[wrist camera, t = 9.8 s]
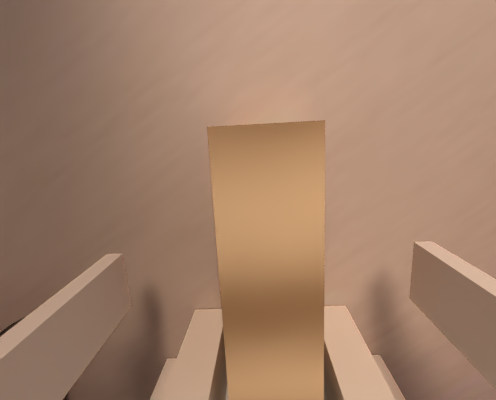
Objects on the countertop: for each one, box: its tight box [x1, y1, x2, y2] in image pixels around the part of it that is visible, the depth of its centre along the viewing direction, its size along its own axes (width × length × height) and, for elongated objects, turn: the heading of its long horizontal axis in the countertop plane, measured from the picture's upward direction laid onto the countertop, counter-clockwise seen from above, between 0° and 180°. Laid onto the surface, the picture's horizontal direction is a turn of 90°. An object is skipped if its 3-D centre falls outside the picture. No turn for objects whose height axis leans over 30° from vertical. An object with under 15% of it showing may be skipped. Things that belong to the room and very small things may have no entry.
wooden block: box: [207, 120, 325, 400], centre depth 13 cm, size 14×4×6 cm, turn 3°
